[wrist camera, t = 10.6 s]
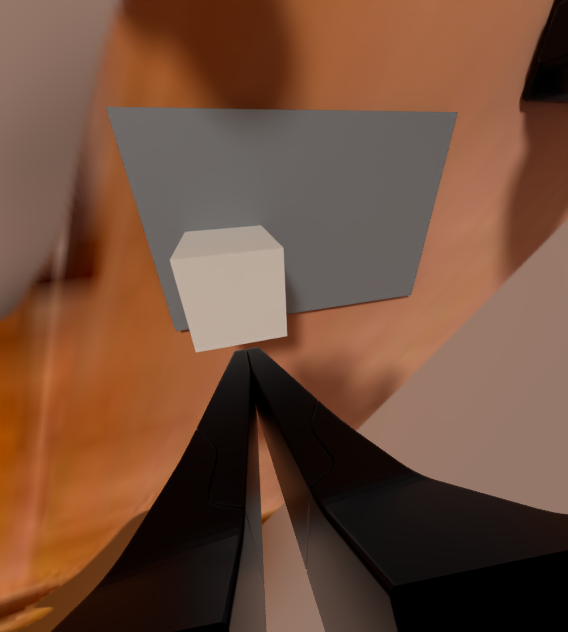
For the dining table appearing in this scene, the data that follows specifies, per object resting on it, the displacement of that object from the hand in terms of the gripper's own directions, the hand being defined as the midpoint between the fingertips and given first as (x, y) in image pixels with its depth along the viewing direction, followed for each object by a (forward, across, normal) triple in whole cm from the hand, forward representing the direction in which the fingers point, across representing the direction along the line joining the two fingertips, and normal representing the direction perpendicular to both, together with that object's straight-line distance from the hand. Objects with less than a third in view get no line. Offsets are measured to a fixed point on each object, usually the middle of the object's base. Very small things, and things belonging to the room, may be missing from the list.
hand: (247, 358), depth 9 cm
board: (+12, -6, -2) cm, 13 cm away
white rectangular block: (+11, 0, 0) cm, 11 cm away
